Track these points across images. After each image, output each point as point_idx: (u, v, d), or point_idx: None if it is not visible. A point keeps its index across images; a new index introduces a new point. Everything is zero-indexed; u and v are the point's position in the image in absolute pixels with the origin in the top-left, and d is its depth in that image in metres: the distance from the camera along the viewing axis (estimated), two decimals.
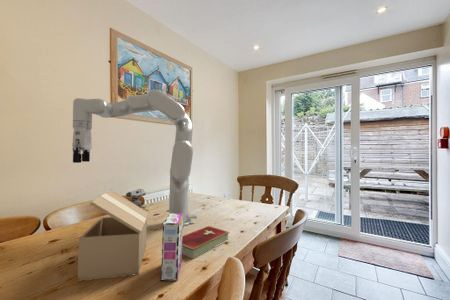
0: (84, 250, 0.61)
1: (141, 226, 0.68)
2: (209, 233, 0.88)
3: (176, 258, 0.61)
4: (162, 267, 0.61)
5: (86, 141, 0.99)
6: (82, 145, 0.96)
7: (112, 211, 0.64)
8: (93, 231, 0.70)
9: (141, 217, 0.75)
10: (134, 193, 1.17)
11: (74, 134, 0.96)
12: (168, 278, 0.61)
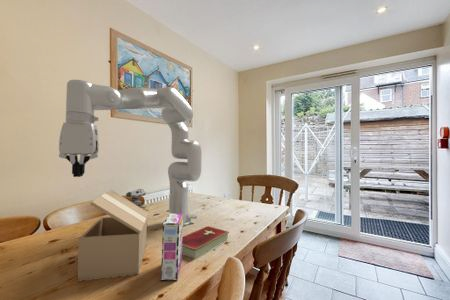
0: (84, 250, 0.61)
1: (141, 226, 0.68)
2: (209, 233, 0.88)
3: (176, 258, 0.61)
4: (162, 267, 0.61)
5: None
6: (98, 149, 0.73)
7: (112, 211, 0.64)
8: (93, 231, 0.70)
9: (141, 217, 0.75)
10: (134, 193, 1.17)
11: (94, 134, 0.69)
12: (168, 278, 0.61)
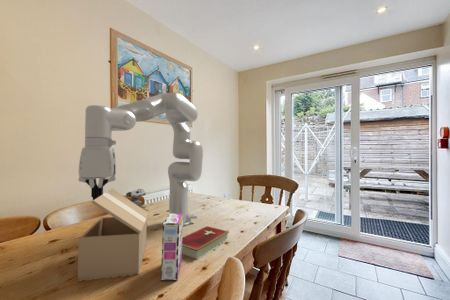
0: (84, 250, 0.61)
1: (141, 226, 0.68)
2: (209, 233, 0.88)
3: (176, 258, 0.61)
4: (162, 267, 0.61)
5: None
6: (115, 171, 0.74)
7: (113, 210, 0.64)
8: (93, 231, 0.70)
9: (141, 217, 0.75)
10: (134, 193, 1.17)
11: (112, 157, 0.71)
12: (168, 278, 0.61)
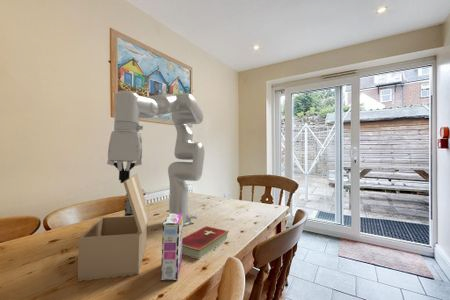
0: (84, 250, 0.61)
1: (143, 227, 0.68)
2: (209, 233, 0.88)
3: (176, 258, 0.61)
4: (162, 267, 0.61)
5: None
6: (141, 156, 0.76)
7: (133, 199, 0.66)
8: (93, 231, 0.70)
9: (145, 217, 0.75)
10: None
11: (139, 142, 0.73)
12: (168, 278, 0.61)
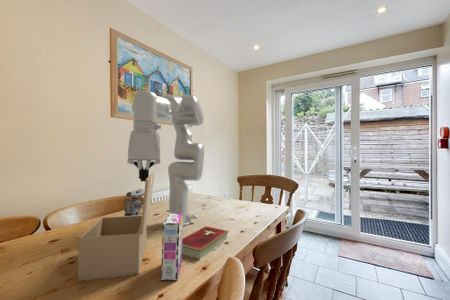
0: (84, 250, 0.61)
1: (144, 228, 0.68)
2: (209, 233, 0.88)
3: (176, 258, 0.61)
4: (162, 267, 0.61)
5: None
6: (159, 155, 0.77)
7: None
8: (93, 231, 0.70)
9: (147, 217, 0.75)
10: (134, 193, 1.17)
11: (158, 141, 0.74)
12: (168, 278, 0.61)
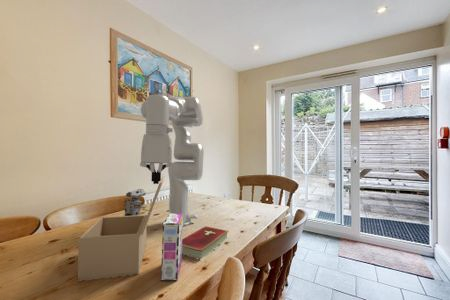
0: (84, 250, 0.61)
1: None
2: (210, 233, 0.88)
3: (176, 258, 0.61)
4: (162, 267, 0.61)
5: None
6: (171, 157, 0.78)
7: None
8: (93, 231, 0.70)
9: None
10: (134, 193, 1.17)
11: (170, 144, 0.75)
12: (168, 278, 0.61)
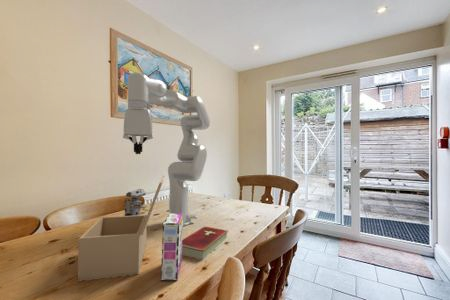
0: (84, 250, 0.61)
1: None
2: (210, 233, 0.88)
3: (176, 258, 0.61)
4: (162, 267, 0.61)
5: None
6: None
7: None
8: (93, 231, 0.70)
9: None
10: (134, 193, 1.17)
11: (150, 118, 0.84)
12: (168, 278, 0.61)
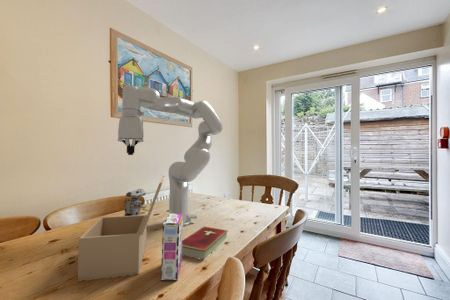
0: (84, 250, 0.61)
1: None
2: (210, 233, 0.88)
3: (176, 258, 0.61)
4: (162, 267, 0.61)
5: None
6: None
7: None
8: (93, 231, 0.70)
9: None
10: (134, 193, 1.17)
11: (141, 124, 0.96)
12: (168, 278, 0.61)
